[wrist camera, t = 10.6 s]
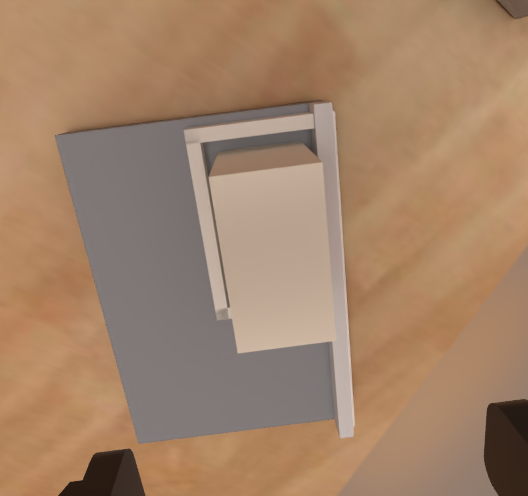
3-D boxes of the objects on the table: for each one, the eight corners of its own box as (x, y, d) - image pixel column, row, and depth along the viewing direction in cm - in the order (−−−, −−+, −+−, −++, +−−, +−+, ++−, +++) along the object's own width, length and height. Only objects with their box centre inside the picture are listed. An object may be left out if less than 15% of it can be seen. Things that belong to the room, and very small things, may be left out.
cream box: (218, 151, 27) (208, 177, 20) (303, 140, 27) (325, 161, 20) (239, 286, 30) (237, 353, 23) (315, 276, 30) (339, 340, 23)
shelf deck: (67, 132, 28) (40, 139, 25) (323, 99, 28) (335, 101, 25) (144, 425, 36) (132, 464, 32) (344, 399, 36) (356, 436, 32)
